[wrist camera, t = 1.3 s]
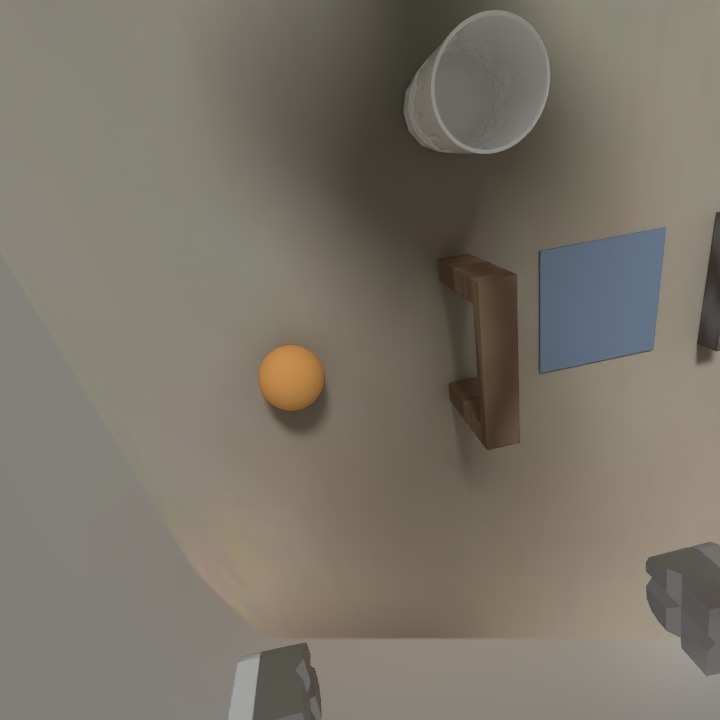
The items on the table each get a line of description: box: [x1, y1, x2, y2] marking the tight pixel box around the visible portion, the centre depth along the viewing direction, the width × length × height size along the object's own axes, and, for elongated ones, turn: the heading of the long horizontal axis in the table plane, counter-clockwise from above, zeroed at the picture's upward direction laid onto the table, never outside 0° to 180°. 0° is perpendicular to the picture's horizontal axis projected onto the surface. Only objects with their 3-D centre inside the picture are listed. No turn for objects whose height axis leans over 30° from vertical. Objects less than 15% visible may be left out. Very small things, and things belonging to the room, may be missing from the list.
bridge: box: [438, 254, 520, 450], centre depth 41 cm, size 3×15×10 cm, turn 9°
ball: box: [258, 345, 324, 411], centre depth 42 cm, size 6×6×6 cm
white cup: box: [403, 10, 550, 154], centre depth 33 cm, size 8×8×10 cm
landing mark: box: [539, 228, 666, 373], centre depth 47 cm, size 13×13×1 cm
